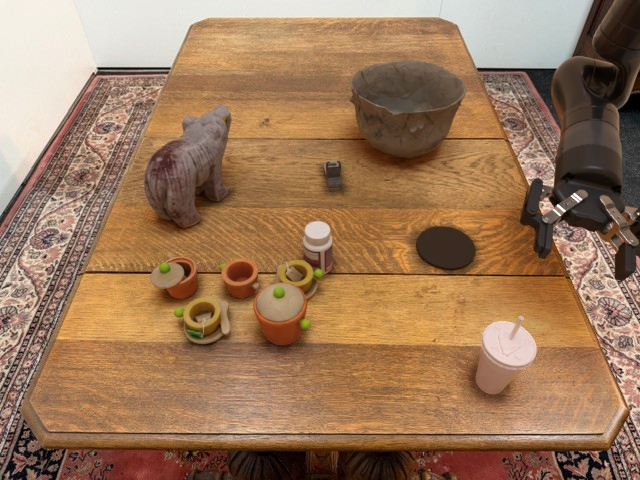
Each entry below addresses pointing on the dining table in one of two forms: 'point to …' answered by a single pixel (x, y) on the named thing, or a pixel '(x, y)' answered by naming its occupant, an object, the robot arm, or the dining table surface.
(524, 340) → the smoothie
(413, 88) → the bowl
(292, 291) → the toy tea set
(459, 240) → the coaster
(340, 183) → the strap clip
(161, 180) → the sculpture
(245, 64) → the dining table surface
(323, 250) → the pill bottle
